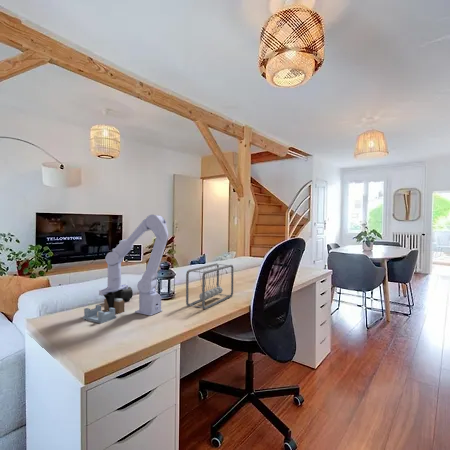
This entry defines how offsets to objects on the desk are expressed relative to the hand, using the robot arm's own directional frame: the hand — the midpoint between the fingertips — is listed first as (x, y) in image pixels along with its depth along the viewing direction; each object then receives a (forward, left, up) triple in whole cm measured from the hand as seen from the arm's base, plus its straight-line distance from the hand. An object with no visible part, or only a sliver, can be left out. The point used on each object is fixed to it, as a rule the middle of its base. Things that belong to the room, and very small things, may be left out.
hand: (114, 307), depth 127 cm
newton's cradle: (-31, -36, -2) cm, 47 cm away
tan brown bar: (0, 0, -1) cm, 1 cm away
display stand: (-3, +10, -1) cm, 11 cm away
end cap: (+10, -13, -2) cm, 16 cm away
